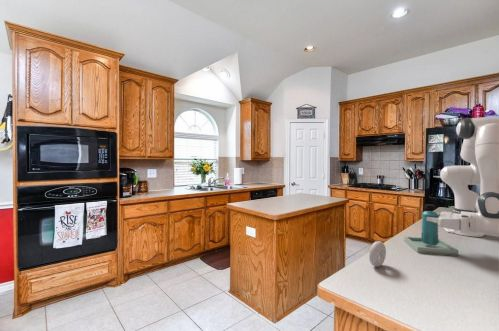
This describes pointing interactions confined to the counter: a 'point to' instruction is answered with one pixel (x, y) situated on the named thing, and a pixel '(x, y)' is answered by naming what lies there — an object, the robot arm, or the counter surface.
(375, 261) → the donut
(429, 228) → the beverage bottle
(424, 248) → the tray
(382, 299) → the counter surface
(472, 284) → the counter surface
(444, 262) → the counter surface
